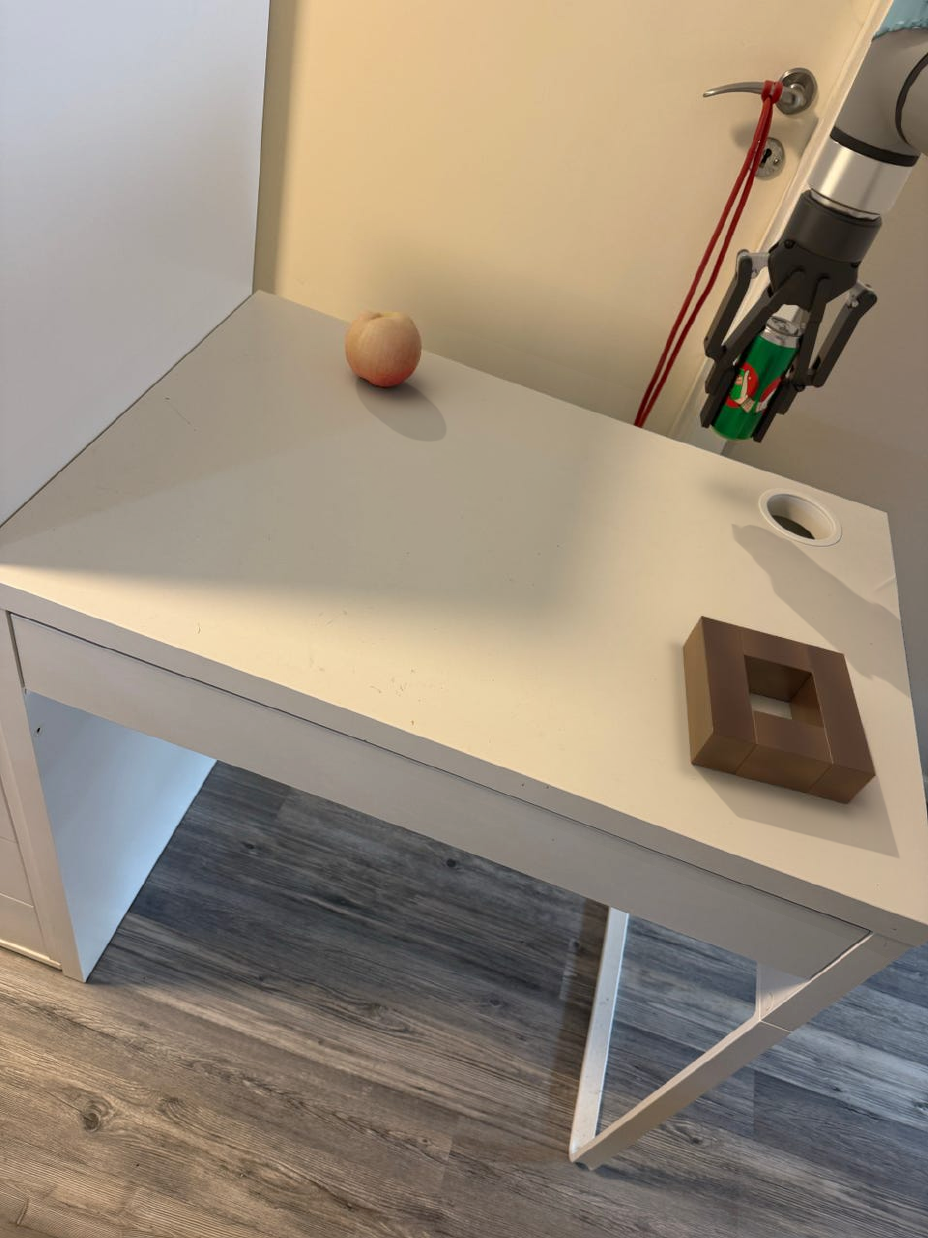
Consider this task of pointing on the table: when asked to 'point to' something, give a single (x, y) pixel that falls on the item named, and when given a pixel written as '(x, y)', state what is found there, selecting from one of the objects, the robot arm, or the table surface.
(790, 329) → the soda can
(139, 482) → the table surface
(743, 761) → the holder
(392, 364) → the fruit
